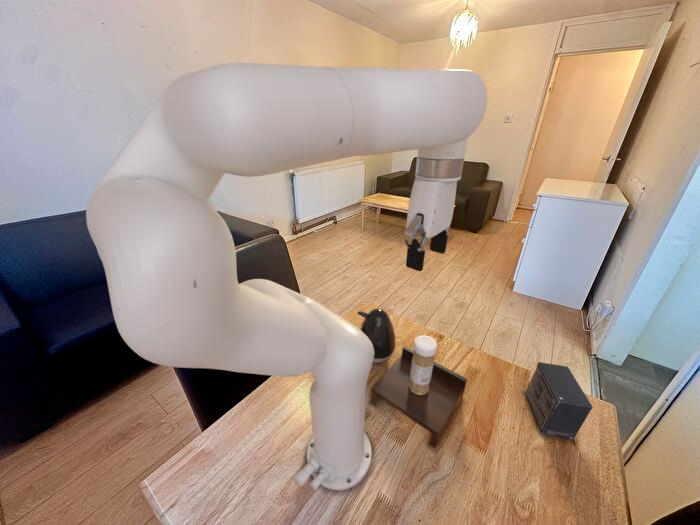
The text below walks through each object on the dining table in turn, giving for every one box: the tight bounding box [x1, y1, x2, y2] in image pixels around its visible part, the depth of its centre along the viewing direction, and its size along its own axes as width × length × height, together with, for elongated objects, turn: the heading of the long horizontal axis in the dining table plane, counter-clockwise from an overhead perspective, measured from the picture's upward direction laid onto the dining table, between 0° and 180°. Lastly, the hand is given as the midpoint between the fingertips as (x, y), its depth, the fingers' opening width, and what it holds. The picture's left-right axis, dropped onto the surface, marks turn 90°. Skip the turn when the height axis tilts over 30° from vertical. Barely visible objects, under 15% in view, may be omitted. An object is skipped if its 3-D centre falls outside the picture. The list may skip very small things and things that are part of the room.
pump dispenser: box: [357, 308, 396, 364], centre depth 76 cm, size 10×10×15 cm
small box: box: [524, 361, 594, 441], centre depth 61 cm, size 11×6×10 cm, turn 168°
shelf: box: [370, 345, 468, 450], centre depth 64 cm, size 14×16×8 cm
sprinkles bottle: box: [409, 334, 438, 395], centre depth 61 cm, size 5×5×14 cm
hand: (426, 259), depth 56 cm, fingers open, 9 cm apart
